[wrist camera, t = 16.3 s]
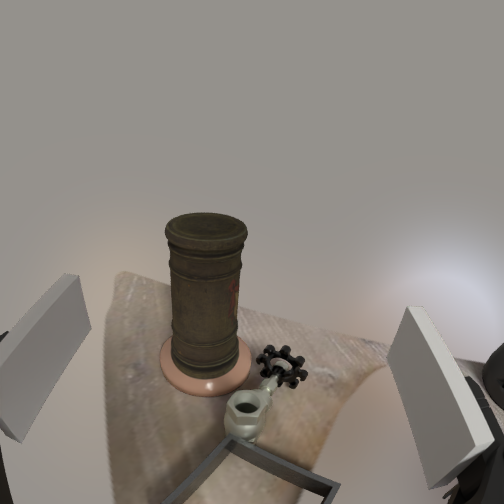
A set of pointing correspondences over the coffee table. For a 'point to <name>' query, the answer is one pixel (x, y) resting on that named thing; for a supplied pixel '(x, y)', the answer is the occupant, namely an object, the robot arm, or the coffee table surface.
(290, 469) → the collar
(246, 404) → the valve
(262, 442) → the coffee table surface
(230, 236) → the container
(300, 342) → the coffee table surface
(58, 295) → the robot arm
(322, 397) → the coffee table surface
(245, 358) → the peach soap bar
